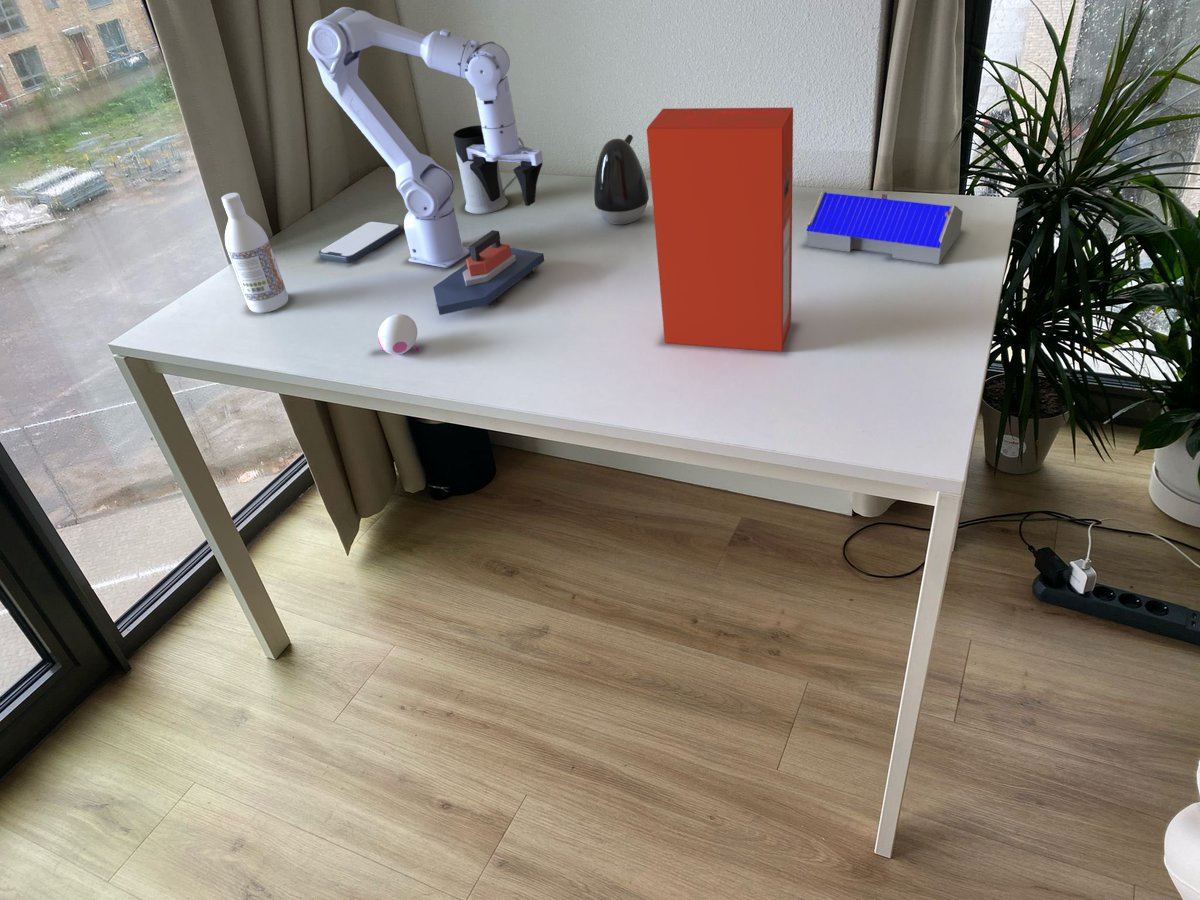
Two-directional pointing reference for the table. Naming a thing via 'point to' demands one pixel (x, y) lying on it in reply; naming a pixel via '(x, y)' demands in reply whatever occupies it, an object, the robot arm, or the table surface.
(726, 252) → the file binder
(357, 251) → the smartphone with white screen
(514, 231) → the table surface
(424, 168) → the robot arm
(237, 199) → the bath foam
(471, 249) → the iron
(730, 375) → the table surface
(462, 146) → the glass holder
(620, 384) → the table surface
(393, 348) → the stress ball
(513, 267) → the ironing board
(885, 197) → the blue roofed model house
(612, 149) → the black egg-shaped figure
